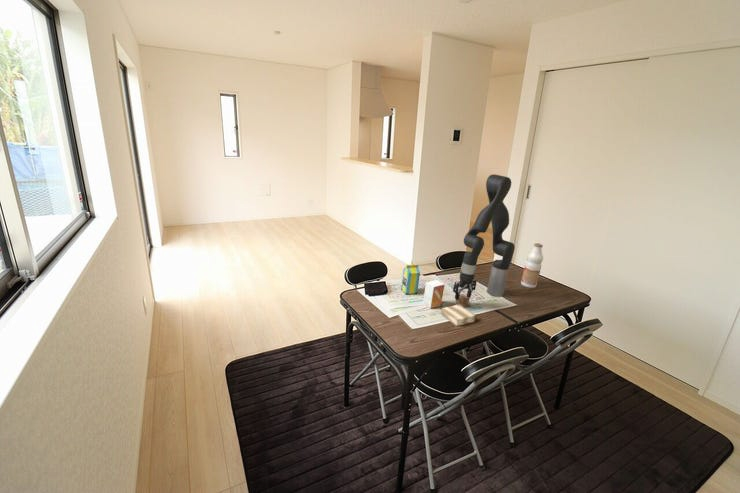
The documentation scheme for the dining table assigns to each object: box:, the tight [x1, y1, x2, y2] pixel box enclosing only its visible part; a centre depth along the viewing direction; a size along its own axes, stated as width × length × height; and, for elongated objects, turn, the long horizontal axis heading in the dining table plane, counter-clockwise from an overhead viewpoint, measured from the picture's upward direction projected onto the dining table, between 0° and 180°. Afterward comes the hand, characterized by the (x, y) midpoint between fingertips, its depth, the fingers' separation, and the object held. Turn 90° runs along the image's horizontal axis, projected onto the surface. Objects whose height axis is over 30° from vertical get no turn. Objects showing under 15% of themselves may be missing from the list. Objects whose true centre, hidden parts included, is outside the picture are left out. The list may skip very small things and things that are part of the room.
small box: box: [422, 279, 445, 309], centre depth 188 cm, size 8×6×13 cm
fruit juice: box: [520, 242, 544, 289], centre depth 221 cm, size 9×9×28 cm
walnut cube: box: [454, 294, 471, 308], centre depth 192 cm, size 5×5×5 cm
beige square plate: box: [440, 304, 476, 327], centre depth 178 cm, size 12×12×4 cm
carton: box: [400, 260, 421, 296], centre depth 200 cm, size 7×8×18 cm
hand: (462, 298), depth 191 cm, fingers open, 8 cm apart
